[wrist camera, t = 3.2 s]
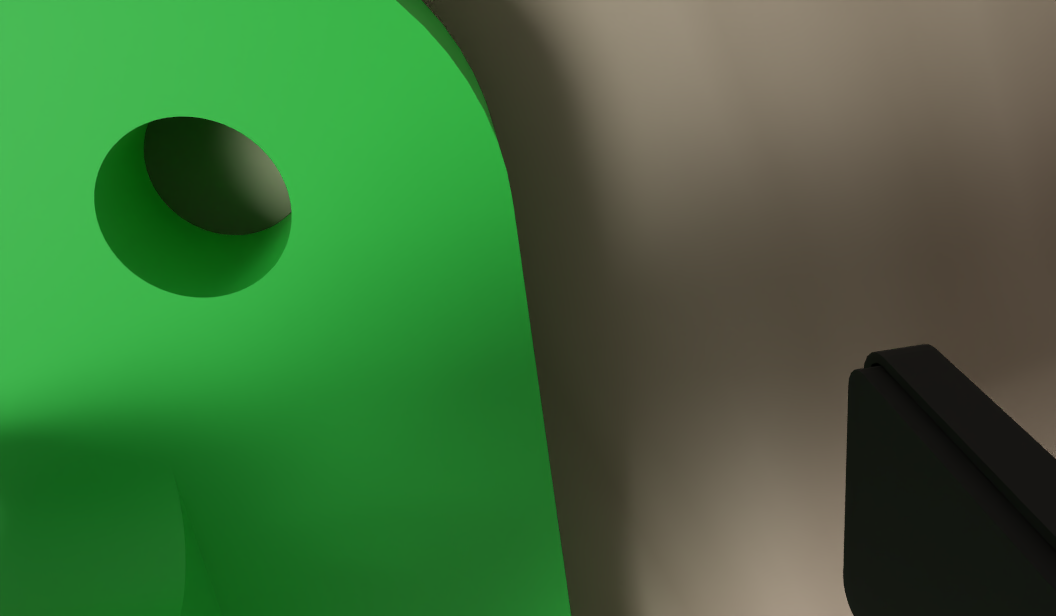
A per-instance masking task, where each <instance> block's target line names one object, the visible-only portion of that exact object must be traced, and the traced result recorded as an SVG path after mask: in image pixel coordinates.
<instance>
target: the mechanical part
mask: <svg viewBox="0 0 1056 616" xmlns="http://www.w3.org/2000/svg"><path fill="white" fill-rule="evenodd" d="M178 116H181V117H197V118H203V119H208V120H212V121H215V122H218V123H221V124H224V125H226V126H228V127H231V128H233V129H235V130H236V131H238V132H240V133H242V134H243V135H245V136H246V137H248V138H249V139H251V140H252V141H253V142H254V143H255V144H257V145H258V146H259V147H260V148H261V149H262V150H263V151H264V152H265V153H266V154H267V155H268V156H269V158H270V159H271V160H272V162H273V163H274V164H275V166H276V167H277V169H278V170H279V172H280V174H281V176H282V178H283V180H284V182H285V185H286V188H287V190H288V194H289V198H290V203H291V211H292V212H291V213H290V214H289V215H288V216H287V217H286V218H284V219H283V220H282V221H280V222H279V223H277V224H276V225H274V226H272V227H270V228H268V229H265V230H262V231H259V232H256V233H251V234H245V235H226V234H219V233H214V232H210V231H207V230H204V229H202V228H199V227H197V226H195V225H193V224H191V223H189V222H187V221H186V220H184V219H183V218H181V217H180V216H179V215H177V214H176V213H175V212H174V211H172V210H171V209H170V208H169V207H168V206H167V205H166V203H165V202H164V201H163V200H162V199H161V197H160V196H159V195H158V193H157V192H156V190H155V188H154V186H153V185H152V182H151V180H150V178H149V175H148V172H147V169H146V165H145V160H144V138H145V133H146V129H147V126H148V123H149V122H151V121H154V120H157V119H162V118H167V117H178ZM0 616H571V610H570V603H569V596H568V589H567V582H566V575H565V567H564V560H563V553H562V546H561V539H560V532H559V525H558V518H557V511H556V504H555V496H554V489H553V482H552V475H551V468H550V461H549V454H548V447H547V440H546V433H545V426H544V418H543V411H542V404H541V397H540V390H539V383H538V376H537V369H536V362H535V355H534V347H533V340H532V333H531V326H530V319H529V312H528V305H527V298H526V291H525V284H524V277H523V269H522V262H521V255H520V248H519V241H518V234H517V227H516V220H515V213H514V206H513V199H512V194H511V189H510V184H509V179H508V174H507V170H506V166H505V163H504V160H503V156H502V153H501V150H500V146H499V143H498V140H497V136H496V133H495V130H494V126H493V123H492V120H491V117H490V114H489V110H488V107H487V104H486V101H485V98H484V96H483V94H482V91H481V89H480V87H479V84H478V82H477V80H476V77H475V75H474V73H473V71H472V69H471V68H470V66H469V64H468V62H467V61H466V59H465V57H464V55H463V53H462V52H461V50H460V48H459V47H458V45H457V44H456V42H455V41H454V40H453V38H452V37H451V35H450V34H449V33H448V31H447V30H446V28H445V27H444V25H443V24H442V23H441V22H440V21H439V19H438V18H437V17H436V16H435V15H434V14H433V13H432V11H431V10H430V9H429V8H428V7H427V6H426V5H425V3H424V2H423V1H422V0H0Z"/></svg>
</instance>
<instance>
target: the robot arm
mask: <svg viewBox="0 0 1056 616" xmlns="http://www.w3.org/2000/svg"><path fill="white" fill-rule="evenodd" d="M843 579H844V588H845V593H846V597H847V601H848V604H849V606H850V609H851V611H852V613H853V615H854V616H1056V459H1055V458H1054V457H1053V456H1052V455H1051V454H1050V453H1049V452H1048V451H1046V450H1045V449H1044V448H1043V447H1042V446H1041V445H1040V444H1039V443H1038V442H1037V441H1036V440H1034V439H1033V438H1032V437H1031V436H1030V435H1029V434H1028V433H1027V432H1026V431H1025V430H1024V429H1023V428H1021V427H1020V426H1019V425H1018V424H1017V423H1016V422H1015V421H1014V420H1013V419H1012V418H1011V417H1009V416H1008V415H1007V414H1006V413H1005V412H1004V411H1003V410H1002V409H1001V408H1000V407H999V406H998V405H996V404H995V403H994V402H993V401H992V400H991V399H990V398H989V397H988V396H987V395H986V394H984V393H983V392H982V391H981V390H980V389H979V388H978V387H977V386H976V385H975V384H974V383H973V382H971V381H970V380H969V379H968V378H967V377H966V376H965V375H964V374H963V373H962V372H961V371H960V370H958V369H957V368H956V367H955V366H954V365H953V364H952V363H951V362H950V361H949V360H948V359H946V358H945V357H944V356H943V355H942V354H941V353H940V352H939V351H938V350H937V349H936V348H934V347H932V346H931V345H929V344H922V345H916V346H909V347H903V348H897V349H891V350H884V351H878V352H872V353H871V354H869V355H868V356H867V359H866V361H865V364H864V368H863V369H856V370H854V371H853V372H851V375H850V378H849V385H848V421H847V458H846V495H845V531H844V568H843Z"/></svg>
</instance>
